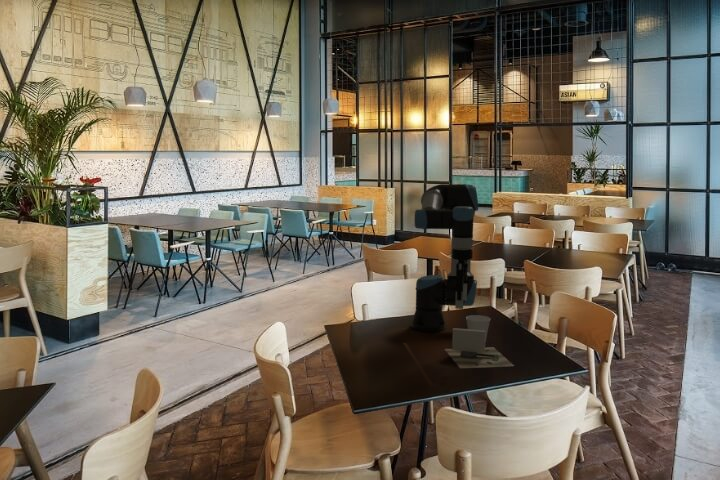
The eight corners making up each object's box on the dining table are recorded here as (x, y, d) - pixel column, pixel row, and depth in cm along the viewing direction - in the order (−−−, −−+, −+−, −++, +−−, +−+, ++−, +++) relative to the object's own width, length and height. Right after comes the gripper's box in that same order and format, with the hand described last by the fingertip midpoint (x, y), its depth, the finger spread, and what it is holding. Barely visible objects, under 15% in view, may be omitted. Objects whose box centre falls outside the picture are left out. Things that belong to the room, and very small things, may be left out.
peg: (451, 356, 222) (452, 330, 221) (453, 351, 228) (454, 326, 227) (493, 360, 218) (494, 334, 217) (494, 355, 224) (495, 329, 222)
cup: (490, 348, 236) (490, 322, 234) (464, 347, 238) (465, 320, 236) (489, 341, 245) (490, 315, 244) (465, 340, 247) (465, 314, 246)
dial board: (444, 352, 232) (444, 348, 232) (493, 350, 234) (493, 346, 234) (460, 371, 210) (460, 367, 210) (514, 369, 212) (514, 365, 212)
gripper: (469, 253, 206) (468, 313, 209) (475, 244, 230) (474, 297, 233) (448, 252, 208) (446, 311, 211) (456, 243, 232) (455, 296, 235)
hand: (461, 304), depth 222 cm, fingers open, 13 cm apart
